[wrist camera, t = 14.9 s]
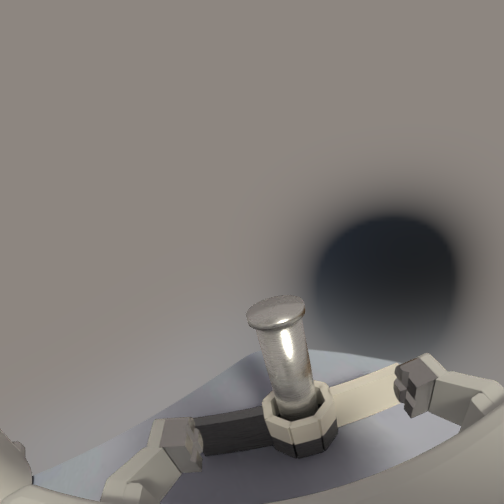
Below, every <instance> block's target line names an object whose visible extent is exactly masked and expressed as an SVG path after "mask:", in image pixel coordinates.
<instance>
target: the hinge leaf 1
mask: <svg viewBox="0 0 504 504" xmlns="http://www.w3.org/2000/svg"><path fill="white" fill-rule="evenodd" d="M321 406H322V405H321V404H318V409H319V408H320V407H321ZM265 412H266V411H265ZM277 417H279V418H281V415H280V414H279V415H278V416H277ZM193 420H194V422H195V428H196V429H198V430H199V431H200V433H201V436H202V439H203V451H202V452H203V453H204V455H205V456H209V455H218V454H225V453H232V452H238V451H244V450H250V449H256V448H261V447H266V446H271V445H274V447H275V449H276V450H277V451H280V452H282V453H284V454H287V455H289V456H291V457H294V458H297V457H298V458H303V457H307V456H310V455H314V454H318V453H321V452H323V450H326V449H327V448H328V446H329V445H330V444H331V442H332V441H333V439H334V438H335V437H336V435H337V434H338V428H337V418H336V419H335V421H334V422H333V424H332V425H331V426H330V428H329V429H328V430H327V432H326V433H325V434H324V436H321V438H318V439H315V440H311V441H308V442H304V443H300V444H296V445H295V444H294V443H293V444H289V443H287V442H284V441H282V440H279V439H277V438H274V437H272V436H271V435H270V433H269V430H268V427H267V425H266V422H265V419H264V413H263V406H259V407H255V408H250V409H245V410H240V411H235V412H229V413H223V414H218V415H211V416H205V417H198V418H193Z"/></svg>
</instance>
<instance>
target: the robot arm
mask: <svg viewBox="0 0 504 504" xmlns="http://www.w3.org/2000/svg"><path fill="white" fill-rule="evenodd" d="M394 374H395V375H396V377H397V378H396V379H395V381H394V386H393V388H394V393H395V396H396V398H397V399H398V401H399V402H401V403H404V404H405V405H404V410H405V411H406V412H407V414H408V415H409V417H410V418H414V417H416V416H418V415H420V414H423V413H425V412H427V411H428V412H430V413H432V414H435V415H437V416H439V417H441V418H444V419H446V420H448V421H450V422H453V423H455V424H457V425H460V426H461V428H460V431H459V433H458V434H457V435H455V436H453V437H451V438H450V439H448V440H446V441H445V442H443V443H441V444H439V445H437V446H436V447H434V448H432V449H430V450H428V451H426V452H424V453H422V454H420V455H418V456H416V457H414V458H412V459H410V460H408V461H405V462H403V463H401V464H399V465H397V466H394V467H392V468H390V469H387V470H385V471H382V472H380V473H377V474H375V475H372V476H369V477H367V478H364V479H361V480H358V481H355V482H352V483H349V484H346V485H343V486H340V487H336V488H333V489H329V490H326V491H322V492H318V493H314V494H310V495H306V496H302V497H297V498H293V499H288V500H283V501H277V502H271V503H265V504H504V388H503V387H502V386H501V385H500V384H499V383H498V382H497V381H493V380H489V379H484V378H479V377H475V376H470V375H466V374H461V373H457V372H453V371H451V372H448V371H447V370H445V368H444V367H442V366H441V365H440V364H439V363H438V362H437V361H436V360H435V359H434V358H433V357H432V356H431V355H430V354H428V353H425V354H423V355H421V356H419V357H417V358H414V359H413V360H410V361H408V362H405V363H403V364H400V365H398V366H396V368H395V373H394ZM202 451H203V439H202V436H201V433H200V431H199V430H198V429H196V428H195V422H194V420H193V418H192V417H181V418H167V419H155V420H154V421H153V425H152V428H151V432H150V436H149V440H148V443H147V447H146V448H143V449H141V450H140V451H139V452H138V453H137V454H136V455H135V456H133V457H132V458H131V459H130V460H129V461H128V462H127V463H125V464H124V465H123V466H122V467H121V468H120V469H118V470H117V471H116V472H115V473H114V474H113V475H111V476H110V477H109V478H108V479H107V480H106V483H105V486H104V490H103V493H102V496H101V499H100V502H99V501H94V500H89V499H84V498H79V497H75V496H71V495H67V494H63V493H59V492H56V491H52V490H49V489H46V488H43V487H40V486H37V485H32V472H31V468H30V466H29V464H28V462H27V461H26V458H25V447H24V446H23V445H22V444H21V443H20V442H11V440H10V439H9V438H8V437H7V436H6V435H5V434H4V433H3V431H2V430H1V429H0V504H160V501H161V500H162V499H163V498H164V496H165V495H166V494H167V493H168V491H169V490H170V489H171V487H172V486H173V485H174V484H175V482H176V481H177V480H178V478H179V477H180V476H181V473H192V472H202V460H203V459H202V457H201V456H200V454H201V453H202Z"/></svg>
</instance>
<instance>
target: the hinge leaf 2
mask: <svg viewBox="0 0 504 504" xmlns="http://www.w3.org/2000/svg"><path fill="white" fill-rule="evenodd" d="M398 365H399V364H398V363H395V364H393V365H390V366H388V367H385V368H383V369H380V370H378V371H375V372H373V373H370V374H367V375H365V376H362V377H359V378H357V379H354V380H351V381H348V382H345V383H342V384H339V385H336V386H333V387H330V388H329V387H328V385H327V384H326V383H323V382H319V381H315V380H314V386H315V392H316V397H317V403H318V404H321V405H322V406H321V407H320V408H319V410H318V411H317V412H316V414H315V415H314V416H311V417H307V418H304V419H300V420H296V421H293V422H290V421H287V420H285V419H282V418H279V417H277V416H278V415H279V414H280V412H279V409H278V405H277V402H276V399H275V395H274V392H273V390H272V391H271V392H270V393H269V394H268V395H267V396H266V397H265V398H264V399H263V402H262V406H263V413H264V419H265V422H266V425H267V427H268V430H269V433H270V435H271V436H272V437H274V438H277V439H279V440H282V441H284V442H287V443H289V444H293V443H294V444H295V445H296V444H300V443H304V442H308V441H311V440H315V439H318V438H321V436H324V434H325V433H326V432H327V430H328V429H329V428H330V426H331V425H332V424H333V422H334V421H335V419H336V418H337V427H340V426H343V425H346V424H349V423H352V422H355V421H358V420H360V419H363V418H366V417H368V416H371V415H373V414H376V413H378V412H381V411H383V410H386V409H388V408H390V407H393V406H395V405H397V404H399V403H400V402H399V401H398V399H397V398H396V396H395V393H394V388H393V386H394V381H395V379H396V378H397V377H396V375H395V374H394V373H395V368H396V366H398ZM265 411H266V412H265Z"/></svg>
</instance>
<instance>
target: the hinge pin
mask: <svg viewBox="0 0 504 504" xmlns="http://www.w3.org/2000/svg"><path fill="white" fill-rule="evenodd" d="M304 314H305V305H304V301H303V300H302V299H301V298H299V297H297V296H292V295H282V296H275V297H271V298H268V299H265V300H262V301H260V302H258V303H256V304H254V305H253V306H252V307H250V308H249V310H248V311H247V313H246V317H247V320H248V324H249V326H250V327H252V328H253V329H256V332H257V336H258V340H259V343H260V347H261V350H262V354H263V357H264V361H265V364H266V368H267V371H268V375H269V378H270V381H271V385H272V388H273V392H274V395H275V399H276V402H277V405H278V409H279V412H280V415H281V418H282V419H285V420H287V421H290V422H293V421H296V420H300V419H304V418H307V417H311V416H314V415H315V414H316V412H317V411H318V410H319V409H318V403H317V397H316V392H315V386H314V380H313V375H312V369H311V364H310V359H309V353H308V348H307V343H306V338H305V333H304V327H303V323H302V317H303V316H304Z"/></svg>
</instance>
